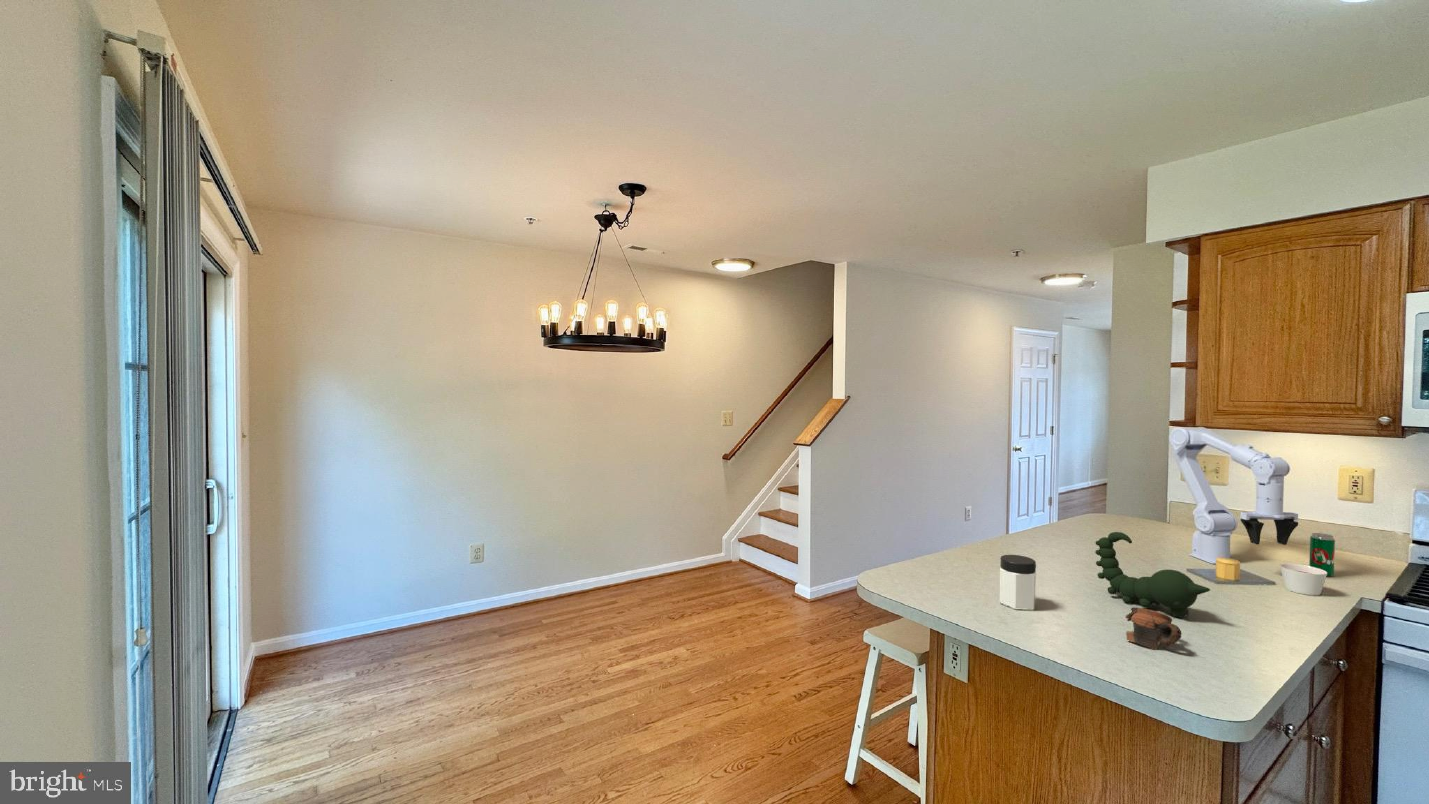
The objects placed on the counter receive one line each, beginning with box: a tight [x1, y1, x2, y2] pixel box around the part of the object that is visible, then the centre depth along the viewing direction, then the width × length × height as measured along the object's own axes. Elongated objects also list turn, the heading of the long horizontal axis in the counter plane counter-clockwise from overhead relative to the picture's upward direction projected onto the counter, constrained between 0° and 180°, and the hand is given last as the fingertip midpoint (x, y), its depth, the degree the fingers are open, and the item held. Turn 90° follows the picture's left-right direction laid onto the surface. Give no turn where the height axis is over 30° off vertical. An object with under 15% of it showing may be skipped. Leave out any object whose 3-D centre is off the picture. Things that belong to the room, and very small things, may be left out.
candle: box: [1279, 563, 1327, 597], centre depth 154 cm, size 9×9×6 cm
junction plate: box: [1185, 568, 1276, 586], centre depth 165 cm, size 11×16×4 cm
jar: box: [999, 554, 1037, 610], centre depth 146 cm, size 9×8×12 cm
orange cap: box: [1215, 557, 1241, 580], centre depth 163 cm, size 5×5×5 cm
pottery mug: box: [1125, 607, 1182, 650], centre depth 124 cm, size 12×10×8 cm
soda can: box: [1308, 532, 1336, 578], centre depth 168 cm, size 5×5×12 cm
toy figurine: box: [1094, 531, 1211, 618], centre depth 143 cm, size 9×19×25 cm
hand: (1268, 543), depth 165 cm, fingers open, 7 cm apart
